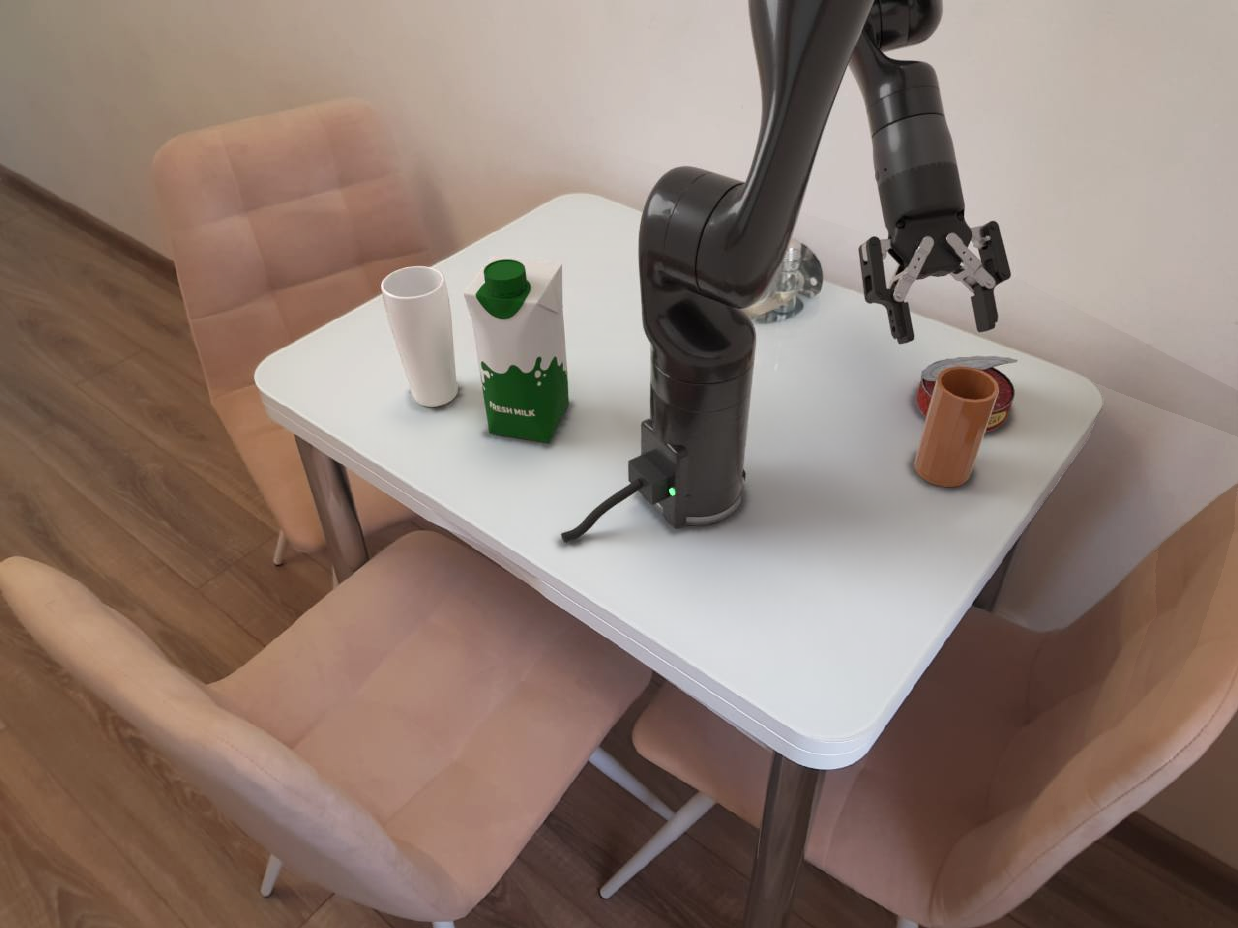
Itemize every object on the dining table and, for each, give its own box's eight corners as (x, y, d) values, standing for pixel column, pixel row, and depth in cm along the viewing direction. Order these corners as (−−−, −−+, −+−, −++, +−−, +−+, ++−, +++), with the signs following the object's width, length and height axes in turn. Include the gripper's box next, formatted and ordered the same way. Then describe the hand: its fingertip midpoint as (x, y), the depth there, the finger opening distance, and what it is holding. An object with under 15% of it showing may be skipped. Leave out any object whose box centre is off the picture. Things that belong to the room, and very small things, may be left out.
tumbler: (944, 494, 89) (971, 409, 81) (902, 463, 92) (924, 379, 85) (981, 473, 91) (1011, 388, 83) (939, 443, 94) (964, 359, 87)
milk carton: (478, 437, 97) (451, 276, 83) (508, 388, 103) (487, 231, 90) (554, 450, 95) (539, 287, 81) (579, 400, 101) (569, 241, 88)
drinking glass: (402, 383, 104) (376, 271, 94) (459, 372, 105) (440, 260, 95) (410, 418, 99) (383, 303, 89) (469, 406, 101) (450, 291, 91)
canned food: (923, 456, 100) (895, 392, 94) (932, 396, 106) (906, 332, 100) (1031, 441, 93) (1008, 372, 88) (1034, 378, 99) (1012, 310, 94)
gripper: (865, 168, 82) (897, 339, 81) (1004, 151, 84) (1036, 317, 83) (833, 197, 89) (863, 354, 89) (962, 181, 91) (991, 334, 91)
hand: (947, 336), depth 86 cm, fingers open, 8 cm apart
